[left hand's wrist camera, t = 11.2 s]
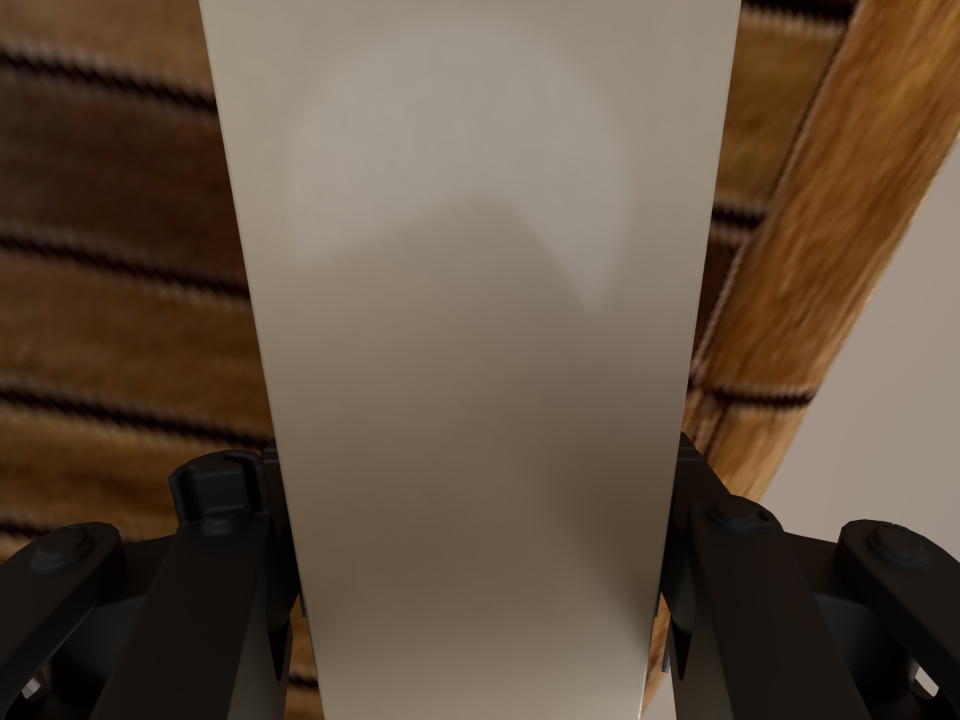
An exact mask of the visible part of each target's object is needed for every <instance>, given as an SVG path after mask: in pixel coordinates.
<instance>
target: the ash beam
mask: <svg viewBox="0 0 960 720" xmlns="http://www.w3.org/2000/svg"><path fill="white" fill-rule="evenodd" d="M199 4H200V10H201V15H202V21H203V27H204V33H205V38H206V44H207V50H208V56H209V61H210V67H211V73H212V78H213V84H214V90H215V96H216V101H217V107H218V113H219V118H220V124H221V130H222V136H223V141H224V147H225V153H226V159H227V164H228V170H229V176H230V181H231V187H232V193H233V199H234V204H235V210H236V216H237V222H238V227H239V233H240V239H241V244H242V250H243V256H244V262H245V267H246V273H247V279H248V284H249V290H250V296H251V302H252V307H253V313H254V319H255V325H256V330H257V336H258V342H259V347H260V353H261V359H262V365H263V370H264V376H265V382H266V387H267V393H268V399H269V405H270V410H271V416H272V422H273V428H274V433H275V439H276V445H277V450H278V456H279V462H280V468H281V473H282V479H283V485H284V490H285V496H286V502H287V508H288V513H289V519H290V525H291V531H292V536H293V542H294V548H295V553H296V559H297V565H298V571H299V576H300V582H301V588H302V593H303V599H304V605H305V611H306V616H307V622H308V628H309V634H310V639H311V645H312V651H313V656H314V662H315V668H316V674H317V679H318V685H319V691H320V697H321V702H322V708H323V714H324V719H325V720H640V717H641V710H642V703H643V696H644V689H645V682H646V675H647V668H648V661H649V653H650V646H651V639H652V632H653V625H654V618H655V611H656V604H657V597H658V589H659V582H660V575H661V568H662V561H663V554H664V547H665V540H666V533H667V526H668V518H669V511H670V504H671V497H672V490H673V483H674V476H675V469H676V462H677V454H678V447H679V440H680V433H681V426H682V419H683V412H684V405H685V398H686V390H687V383H688V376H689V369H690V362H691V355H692V348H693V341H694V334H695V326H696V319H697V312H698V305H699V298H700V291H701V284H702V277H703V270H704V262H705V255H706V248H707V241H708V234H709V227H710V220H711V213H712V206H713V198H714V191H715V184H716V177H717V170H718V163H719V156H720V149H721V142H722V134H723V127H724V120H725V113H726V106H727V99H728V92H729V85H730V78H731V70H732V63H733V56H734V49H735V42H736V35H737V28H738V21H739V14H740V7H741V0H199Z"/></svg>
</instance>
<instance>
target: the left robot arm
mask: <svg viewBox="0 0 960 720" xmlns="http://www.w3.org/2000/svg"><path fill="white" fill-rule="evenodd" d="M168 480H169V484H170V488H171V493H172V497H173V501H174V505H175V509H176V513H177V517H178V521H179V527H178V529H177V531H176V533H175V534H173V535H170V536H166V537H162V538H157V539H152V540H147V541H142V542H137V543H132V544H128V545H123V544H122V540H121V537H120V534H119V530H118V529H116V528H115V527H114V526H113V525H111V524H108V523H102V522H88V523H79V524H73V525H69V526H68V527H62V528H59V529H56V530H54V531H52V532H51V533H48V534H46V535H44V536H42V537H40V538H37V539H35V540H34V541H32V542H31V543H29V544H28V545H26V546H25V547H23V548H22V549H20V550H19V551H18V552H16V553H15V554H14V555H13V556H12V557H10V558H9V559H8V560H7V561H6V562H4V563H3V564H2V565H1V566H0V720H283V719H284V711H285V702H286V693H287V685H288V676H289V668H290V659H291V651H292V642H293V634H292V627H291V621H290V613H291V610H292V608H293V605H294V603H295V601H296V598H297V596H298V594H299V597H300V603H301V609H302V616H303V617H307V616H306V611H305V605H304V599H303V593H302V588H301V582H300V576H299V571H298V565H297V559H296V553H295V548H294V542H293V536H292V531H291V525H290V519H289V513H288V508H287V502H286V496H285V490H284V485H283V479H282V473H281V468H280V462H279V456H278V450H277V445H276V439H275V436H274V437H273V438H272V440H271V441H270V442H269V444H268V445H267V446H266V448H265V449H264V452H262V453H261V454H260V456H259V455H258V454H256V453H254V452H250V451H246V450H224V451H219V452H214V453H209V454H206V455H203V456H200V457H198V458H195V459H192V460H190V461H189V462H187V463H185V464H184V465H182V466H180V467H179V468H177V469H176V470H175V471H174V472H173V473H172V474H171V475H170V476H169V478H168ZM661 592H662V594H663V597H664V599H665V601H666V604H667V606H668V608H669V611H670V613H671V615H670V621H669V627H668V633H667V639H666V645H665V651H664V657H663V663H662V670H661V672H666V673H668V672H669V666H670V667H671V675H672V683H673V692H674V701H675V709H676V718H677V720H960V563H959V562H958V561H957V560H956V559H955V558H953V557H952V556H951V555H950V554H948V553H947V552H946V551H945V550H944V549H942V548H941V547H939V546H938V545H936V544H935V543H933V542H932V541H930V540H929V539H927V538H926V537H924V536H922V535H920V534H918V533H915V532H913V531H911V530H909V529H908V528H906V527H903V526H900V525H897V524H895V525H894V524H892V523H889V522H885V521H876V520H867V519H862V520H856V521H850V522H848V523H847V524H846V525H845V526H843V527H842V529H841V532H840V536H839V539H838V542H837V543H834V542H829V541H824V540H819V539H814V538H809V537H804V536H799V535H795V534H791V533H788V532H784V530H783V528H782V526H781V524H780V523H779V521H778V520H777V519H776V517H775V516H774V515H773V514H772V513H771V512H770V511H768V510H767V509H765V508H764V507H763V506H761V505H760V504H758V503H756V502H753V501H751V500H748V499H746V498H744V497H741V496H736V495H732V494H730V492H729V491H728V490H727V488H726V487H725V486H724V484H723V483H722V482H721V480H720V479H719V478H718V476H717V475H716V474H715V473H714V471H713V470H712V469H711V467H710V466H709V465H708V463H707V462H706V461H704V458H703V457H702V455H701V454H700V453H699V451H698V450H696V449H695V446H694V445H693V443H692V442H691V441H690V439H689V438H688V437H687V435H686V434H685V433H683V432H682V431H681V433H680V440H679V447H678V454H677V462H676V469H675V476H674V483H673V490H672V497H671V504H670V511H669V518H668V526H667V533H666V540H665V547H664V554H663V561H662V568H661V575H660V582H659V589H658V597H657V604H656V611H655V617H657V613H658V607H659V601H660V594H661ZM919 666H920V667H921V668H922V669H923V670H924V671H925V672H926V673H927V675H928V676H929V677H930V678H931V679H932V680H933V681H934V683H935V684H936V685H937V686H938V687H939V689H938V691H937V694H936V695H935V696H934V697H933V696H932V695H930V694H929V693H928V692H927V691H926V690H925V689H924V688H923V687H922V686H921V684H920V683H919V682H918V681H917V680H916V678H915V676H916V674H917V671H918V669H919Z"/></svg>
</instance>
